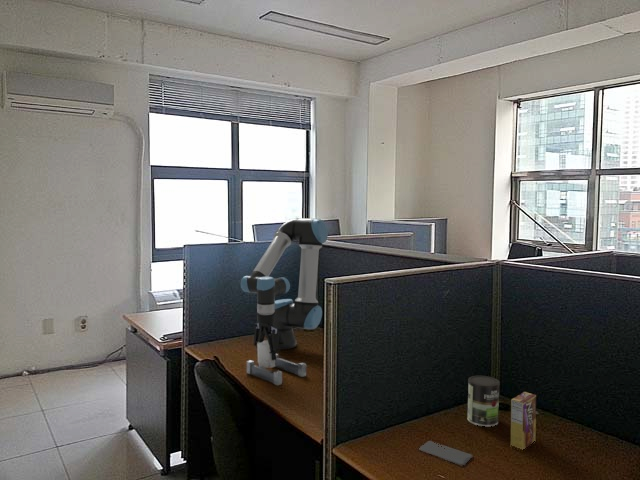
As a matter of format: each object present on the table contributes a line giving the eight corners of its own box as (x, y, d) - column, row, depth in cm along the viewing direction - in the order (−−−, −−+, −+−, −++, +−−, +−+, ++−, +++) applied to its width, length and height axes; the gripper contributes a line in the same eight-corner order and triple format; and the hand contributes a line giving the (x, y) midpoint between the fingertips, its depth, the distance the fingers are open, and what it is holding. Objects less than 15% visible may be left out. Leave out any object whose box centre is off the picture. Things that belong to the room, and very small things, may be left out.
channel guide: (275, 364, 236) (274, 353, 235) (306, 375, 221) (306, 363, 221) (246, 373, 224) (246, 361, 224) (277, 385, 210) (277, 373, 210)
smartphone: (428, 440, 164) (474, 455, 154) (428, 442, 164) (474, 458, 154) (416, 448, 158) (462, 465, 148) (416, 451, 158) (462, 468, 149)
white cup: (277, 362, 230) (277, 340, 230) (273, 368, 223) (273, 345, 222) (259, 361, 231) (259, 339, 230) (255, 367, 224) (255, 345, 223)
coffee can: (505, 423, 176) (506, 383, 175) (481, 429, 172) (482, 388, 171) (483, 411, 186) (484, 373, 184) (460, 417, 181) (461, 377, 180)
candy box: (522, 437, 167) (524, 391, 165) (535, 442, 163) (537, 394, 162) (509, 446, 160) (510, 398, 159) (522, 451, 157) (524, 402, 156)
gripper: (244, 310, 229) (245, 361, 232) (274, 318, 215) (274, 372, 217) (258, 307, 235) (258, 357, 237) (288, 315, 220) (288, 368, 222)
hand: (266, 364), depth 227 cm, fingers closed on white cup, 7 cm apart
